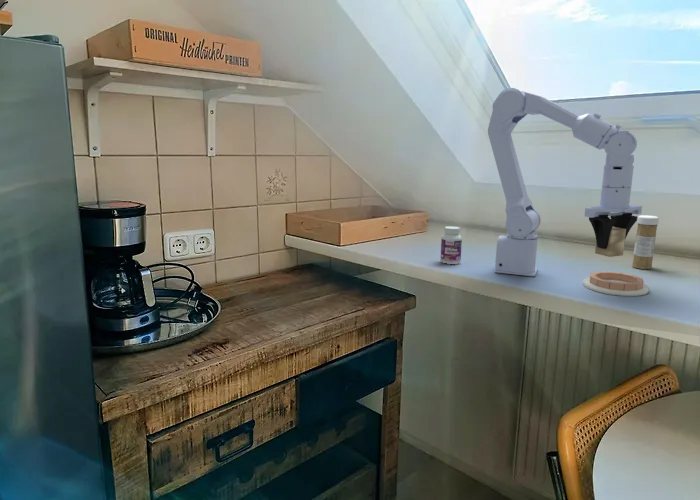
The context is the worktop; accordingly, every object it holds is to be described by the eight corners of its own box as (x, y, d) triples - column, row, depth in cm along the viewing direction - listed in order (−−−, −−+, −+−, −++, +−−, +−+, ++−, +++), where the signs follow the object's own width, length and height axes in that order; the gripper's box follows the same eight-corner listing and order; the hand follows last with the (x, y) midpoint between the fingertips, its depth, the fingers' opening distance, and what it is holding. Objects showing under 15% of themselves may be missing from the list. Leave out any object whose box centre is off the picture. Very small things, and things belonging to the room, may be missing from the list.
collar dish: (582, 291, 107) (583, 281, 106) (583, 276, 118) (584, 267, 118) (651, 299, 101) (653, 288, 101) (645, 283, 113) (647, 273, 112)
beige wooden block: (609, 256, 109) (612, 230, 108) (594, 253, 112) (597, 227, 111) (623, 255, 110) (626, 229, 109) (608, 251, 114) (611, 226, 113)
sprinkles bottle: (638, 264, 130) (644, 214, 127) (655, 268, 126) (662, 216, 123) (627, 266, 128) (634, 215, 125) (645, 270, 124) (652, 217, 121)
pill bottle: (444, 265, 129) (445, 229, 127) (437, 260, 134) (439, 226, 132) (463, 264, 130) (465, 228, 128) (456, 260, 135) (458, 225, 133)
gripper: (605, 189, 102) (599, 253, 105) (657, 187, 107) (649, 248, 110) (579, 186, 108) (574, 246, 111) (629, 184, 113) (622, 242, 116)
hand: (609, 247), depth 111 cm, fingers closed on beige wooden block, 4 cm apart
